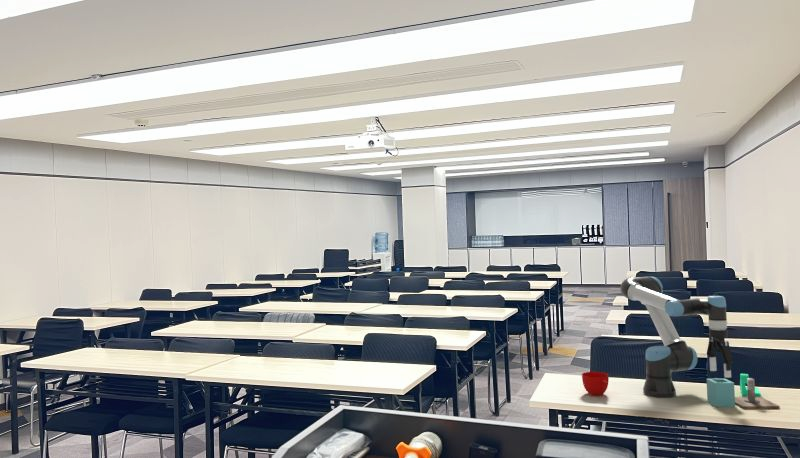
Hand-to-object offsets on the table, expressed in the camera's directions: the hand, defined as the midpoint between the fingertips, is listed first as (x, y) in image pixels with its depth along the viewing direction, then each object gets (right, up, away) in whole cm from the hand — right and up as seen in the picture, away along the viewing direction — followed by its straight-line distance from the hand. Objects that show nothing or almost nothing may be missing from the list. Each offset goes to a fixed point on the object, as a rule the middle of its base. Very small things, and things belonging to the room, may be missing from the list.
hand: (720, 374), depth 267 cm
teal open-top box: (0, -14, 0) cm, 14 cm away
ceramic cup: (-51, -16, +21) cm, 57 cm away
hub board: (+14, -14, -1) cm, 20 cm away
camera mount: (+23, -14, +14) cm, 30 cm away
